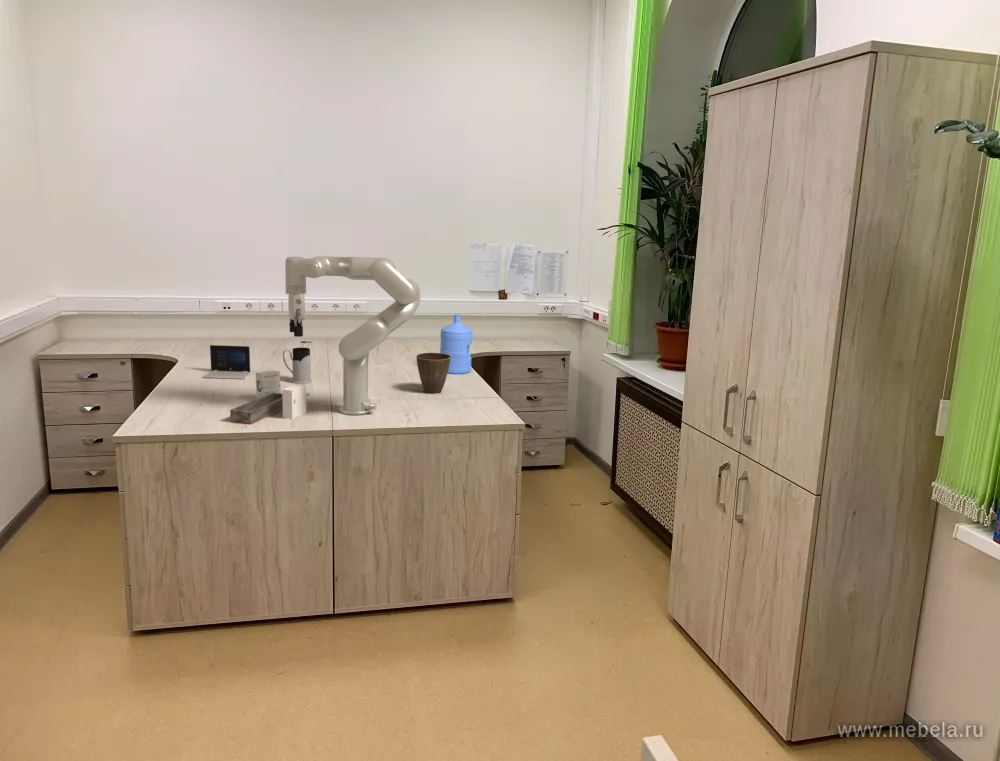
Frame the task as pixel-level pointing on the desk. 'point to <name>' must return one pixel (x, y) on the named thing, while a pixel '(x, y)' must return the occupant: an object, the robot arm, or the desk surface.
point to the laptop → (229, 362)
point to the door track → (257, 409)
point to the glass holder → (300, 365)
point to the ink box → (267, 383)
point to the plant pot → (433, 371)
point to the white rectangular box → (294, 401)
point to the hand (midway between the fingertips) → (296, 334)
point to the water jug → (457, 346)
